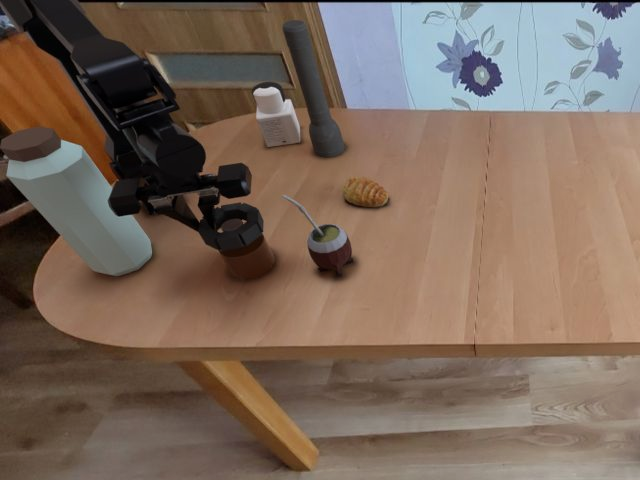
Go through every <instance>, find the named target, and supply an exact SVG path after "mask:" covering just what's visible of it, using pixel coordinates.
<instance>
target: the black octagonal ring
mask: <svg viewBox="0 0 640 480" xmlns="http://www.w3.org/2000/svg"><path fill="white" fill-rule="evenodd" d="M215 218H216V230H213V229H212V228H211V227H210V226H209V225H208V223H207V221H206V219H205V218H204V216H203V215H202V217H201V218H200V219H199V229H198V232H197V233H198V234H199V236H200V238H201V239H202V241H203V243H204V244H205V246H208V247H210V248H212V249H215V250H217V251H218V250H219V251H220V250H221V249H222V251H226V250H232V249H237V248H242V247H244V245H246V246H247V245H249V244H250V243H251V242H253V241H254V240H255V239H257V238H258V237H259V236H261V235H262V234H261V233H264V218H263V216H262V214H261V212H260V209H259V208H258V207H256V206H253V205H251V204H249V203H246V202H243V203H242V202H239V201H238V202H233V203H228V204H227V203H226V204H222V205H220V207H219V206H216V207H215ZM230 219H240V220H242V221H245V222H243V225H242V226H240V227H239V228H237V229H236V230H232V231H226V232H223V231H221V232H220V231H218V230H220V229H221V225H222V224H223V223H224V222H225V221H227V220H230Z"/></svg>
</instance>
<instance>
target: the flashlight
mask: <svg viewBox="0 0 640 480" xmlns="http://www.w3.org/2000/svg"><path fill="white" fill-rule="evenodd" d="M281 29H282V32H283V36H284V39H285V42H286V45H287V47H288V50H289V53H290V57H291V61H292V64H293V67H294V69H295V73H296V75H297V76H296V77H297V80H298V83H299V86H300V89H301V92H302V95H303V100H304V102H305V106H306V110H307V114H308V118H309V119H310V122H309V125H308V134H309V138H310V141H311V145H312V149H313V152H314V154H315V155H316V156H318V157H321V158H332V157H337V156H339V155H340V154H342V153H343V152H344V151H345V148H346V147H345V142H344V139H343V135H342V131H341V129H340V127H339V124H338V123H337V121H336V120H334V118H332V115H331V111H330V110H331V109H330V107H329V105H328V101H327V98H326V93H325V91H324V86H323V82H322V79H321V76H320V72H319V68H318V65H317V61H316V57H315V53H314V50H313V45H312V40H311V37H310V32H309V29H308V26H307V24H306V23H305V22H304V21H303V20H299V19H293V20H292V19H291V20H288V21H285V22H283V24H282V27H281Z"/></svg>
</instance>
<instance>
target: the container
mask: <svg viewBox="0 0 640 480" xmlns="http://www.w3.org/2000/svg"><path fill="white" fill-rule="evenodd" d="M251 94H252V97H253V100H254V102H255V104H256V113H255V120H256V122H257V125H258V127H259V130H260V132H261V135H262V137H263V140H264V143H265V145H266V147H267V148H271V147H279V146H286V145H293V144H300V143H301V125H300V123H299V120H298V117H297V114H296V110H295V108H294V105H293V102H292V99H291V98H286V96H285V92H284V89H283V86H282V85H281V84H280V83H279V82H275V81H263V82H260V83H258V84H256V85H254V86H253V87H252V89H251Z"/></svg>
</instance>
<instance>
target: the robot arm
mask: <svg viewBox="0 0 640 480" xmlns="http://www.w3.org/2000/svg"><path fill="white" fill-rule="evenodd" d="M0 8H1V10H2V12H3V13H4V14H5V16H6V17H7V19H8V20H9V22H10V23H11V25H12V26H13V27H14V28H15V30H16V31H17V32H18V33H19V34H22V33H24V35H25V36H26V37H27V39H29V40H30V41H31V42H32V43H33V44H34V45H35V46H36V47H37V48H38V49H40V50H42V51H43V52H44V53H47V54H48V55H49V56H51V57H53V58H54V59H55V60H56V62H57V63H58V65H59V66H60V68H61V69H62V71H63V72H64V74H65V75H66V77H67V78H68V80H69V82H70V83H71V85H72V86H73V87H74V89H75V91H76V92H77V94H78V95H79V96H80V98H81V100H82V101H83V102H84V104H85V106H86V108H87V109H88V110H89V112H90V114H91V115H92V117H93V118H94V120H95V121H96V123H97V124H98V125H99V127H100V129H101V130H102V132H103V133H104V134H105V139H104V148H103V150H104V152H105V153H106V155H107V157H108V158H109V159H110V161H109V162H108V165H109V167H110V170H111V171H112V173H113V175H114V176H115V177H116V179H117V180H115V182H114V184H113V186H112V188H113V189H112V191H111V194H110V196H109V199H108V205H109V207H110V209H111V210H112V211H113V213H114V214H115V215H116V216H118V217H121V216H127V215H132V216H133V215H139V214H140V212H141V210H142V208H143V207H144V209H145V210H146V212H147V214H148V215H154V214H155V215H157V216H159V215H162V216H165V217H168V218H170V219H172V220H174V221H176V222H179V223H181V225H182V224H183V225H184V226H186V227H188V228H189V229H192V230H193V231H195V232H197V233H198V229H199V223H200V220H199V219H198V218H197V216H196V215H195V213H194V212H193V211H192V209H191V208H190V206H189V205H188V203H187V202H186V200H185V198H184V195H190V194H191V195H192V194H196V195H198V201H197V208H198V209H199V212H200V213H201V214H202V217H203V216H204V218H205V219H206V221H207V223H208V225H209V226H210V227H211V228H212V229H213V230H216V218H215V208H216V207H215V206H217V205H219V204H220V203H221V197H223V198H225V199H228V200H232V199H237V198H244V197H247V196H249V195H250V194H251V193H252V181H253V179H252V178H253V174H252V172H251V170H250V168H249V166H248V165H246V164H245V163H243V162H236V163H229V164H222V165H219V166H218V169H217V174H216V173H215V172H214V173H213V172H212V173H206V174H202V173H203V171H204V166H205V163H206V160H207V152H206V150H205V147H204V146H203V145H202V143H201V142H200V141H198V140H197V139H196V138H195V137H194V136H193V135H191V134H190V133H189V132H188V131H186V130H185V129H184V128H182V127H181V126H180V125H178V124H177V123H176V122H175V121H174V120H173V118H172V117H171V113H174V112H176V111H179V110H181V107H180V105H179V104H178V102H177V101H176V99H177V94H176V93H175V91H174V90H173V88H172V87H171V85H170V84H169V83H168V82H167V80H166V79H165V77H164V76H163V75H162V74H161V72H160V71H159V70H158V68H157V67H156V66H155V65H154V64H152V63H150V61H149V60H148V58H145V57H144V56H141V57H140V56H139V55H138V53H136V52H135V50H133V49H132V48H131V47H130V46H129V45H128V44H126V43H125V42H123V41H119V40H115V39H111V38H108V37H106V36H105V35H104V34H103V33H102V32H101V31H100V30H99V28H98V27H97V26H96V25H95V24H94V23H93V22H92V21H91V20H90V18H89V17H87V16H86V10H85V9H84V7H83V6H82V5H81V3H80V1H79V0H0ZM158 94H160V95H161V97H160V98H158V99H155V100H152V101H148V99H151V98H154V97H157V96H158ZM200 174H201V175H200ZM140 201H141V202H140Z"/></svg>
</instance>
